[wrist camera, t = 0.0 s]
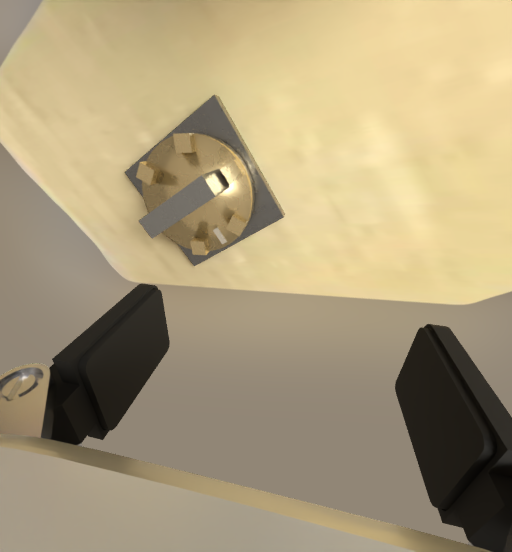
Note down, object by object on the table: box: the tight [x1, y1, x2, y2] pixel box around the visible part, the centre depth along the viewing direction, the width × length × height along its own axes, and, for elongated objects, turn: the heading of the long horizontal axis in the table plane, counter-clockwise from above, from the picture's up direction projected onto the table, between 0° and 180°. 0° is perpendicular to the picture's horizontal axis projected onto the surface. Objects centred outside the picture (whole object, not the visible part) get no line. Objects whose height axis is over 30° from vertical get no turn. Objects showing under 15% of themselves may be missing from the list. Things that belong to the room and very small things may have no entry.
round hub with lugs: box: [136, 133, 255, 255], centre depth 40 cm, size 18×18×10 cm
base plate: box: [125, 95, 285, 266], centre depth 45 cm, size 20×20×2 cm
